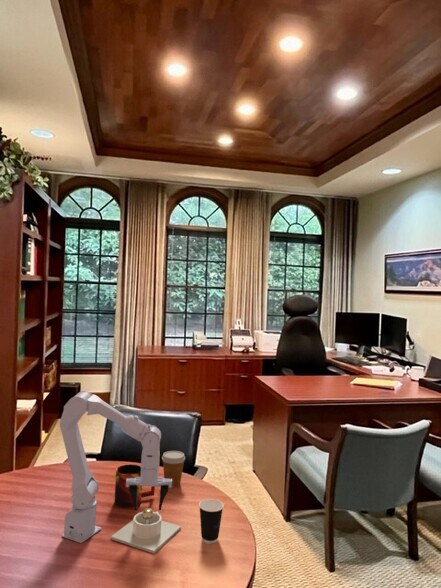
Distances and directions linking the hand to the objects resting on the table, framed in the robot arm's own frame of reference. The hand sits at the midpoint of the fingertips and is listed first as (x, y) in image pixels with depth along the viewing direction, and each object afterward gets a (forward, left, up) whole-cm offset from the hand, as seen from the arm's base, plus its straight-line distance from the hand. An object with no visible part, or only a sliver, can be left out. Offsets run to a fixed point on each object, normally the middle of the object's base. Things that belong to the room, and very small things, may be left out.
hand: (147, 508), depth 140 cm
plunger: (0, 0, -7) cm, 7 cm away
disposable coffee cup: (+36, +12, -8) cm, 39 cm away
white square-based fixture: (0, 0, -8) cm, 8 cm away
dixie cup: (+7, -19, -8) cm, 22 cm away
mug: (+17, +17, -8) cm, 25 cm away
